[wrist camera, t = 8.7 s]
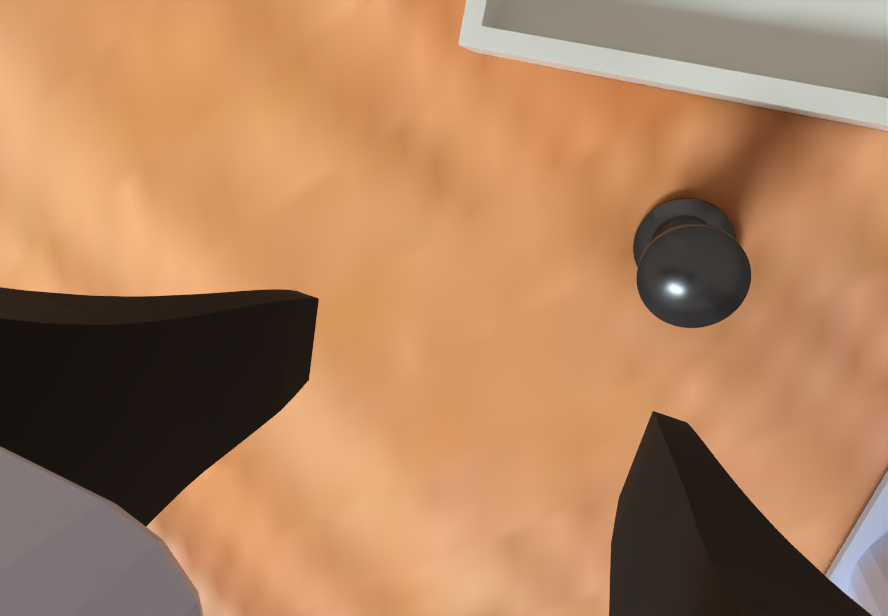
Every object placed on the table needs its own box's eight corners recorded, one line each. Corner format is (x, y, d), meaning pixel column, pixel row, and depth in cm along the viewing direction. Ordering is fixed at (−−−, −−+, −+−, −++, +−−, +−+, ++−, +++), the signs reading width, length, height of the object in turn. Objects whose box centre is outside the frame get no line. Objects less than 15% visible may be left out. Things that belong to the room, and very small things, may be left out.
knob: (750, 211, 17) (781, 236, 13) (714, 301, 18) (732, 350, 14) (650, 187, 18) (650, 204, 14) (621, 275, 19) (613, 315, 15)
